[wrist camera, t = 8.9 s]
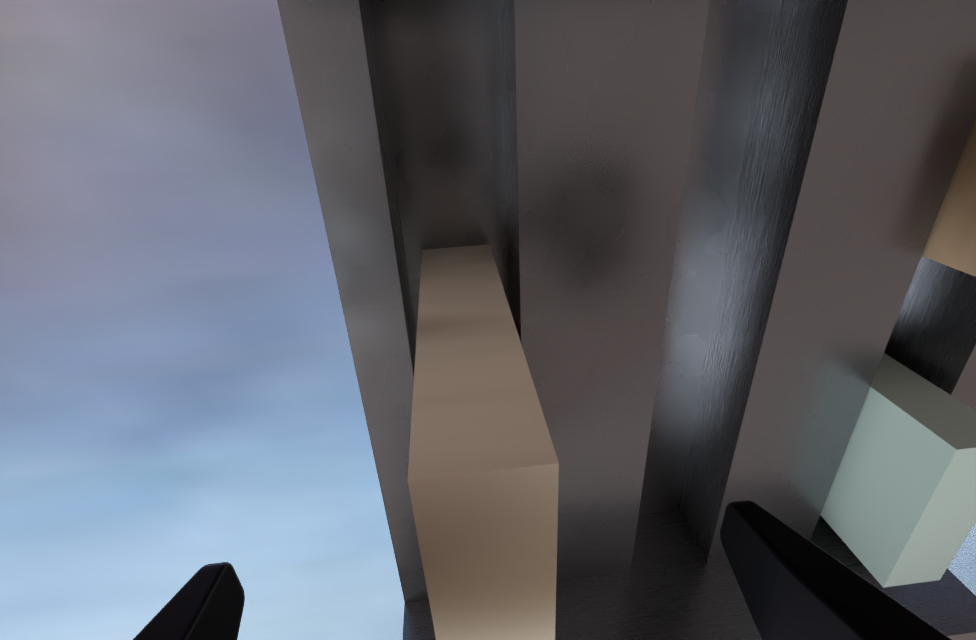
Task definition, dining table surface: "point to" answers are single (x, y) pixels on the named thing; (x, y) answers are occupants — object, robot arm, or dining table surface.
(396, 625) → the dining table surface
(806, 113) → the rack
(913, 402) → the offcut
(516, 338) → the birch panel
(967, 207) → the offcut
